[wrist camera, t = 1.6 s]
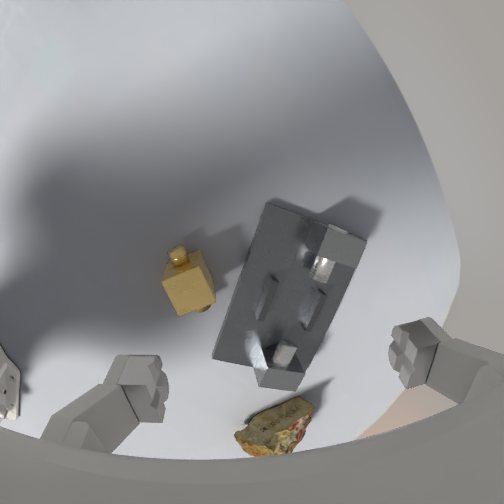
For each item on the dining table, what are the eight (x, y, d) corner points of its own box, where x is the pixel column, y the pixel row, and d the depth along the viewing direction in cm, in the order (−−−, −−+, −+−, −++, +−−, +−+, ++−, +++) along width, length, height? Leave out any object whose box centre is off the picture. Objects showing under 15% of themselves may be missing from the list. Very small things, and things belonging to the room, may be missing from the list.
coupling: (218, 292, 35) (222, 315, 30) (187, 305, 35) (185, 329, 29) (193, 236, 32) (192, 250, 27) (160, 250, 32) (153, 267, 27)
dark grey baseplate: (300, 372, 40) (311, 394, 35) (211, 356, 37) (213, 380, 32) (363, 236, 36) (385, 246, 31) (267, 200, 33) (278, 206, 28)
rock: (277, 383, 46) (313, 399, 37) (300, 415, 47) (337, 433, 38) (222, 428, 41) (249, 456, 32) (251, 458, 42) (281, 485, 33)
